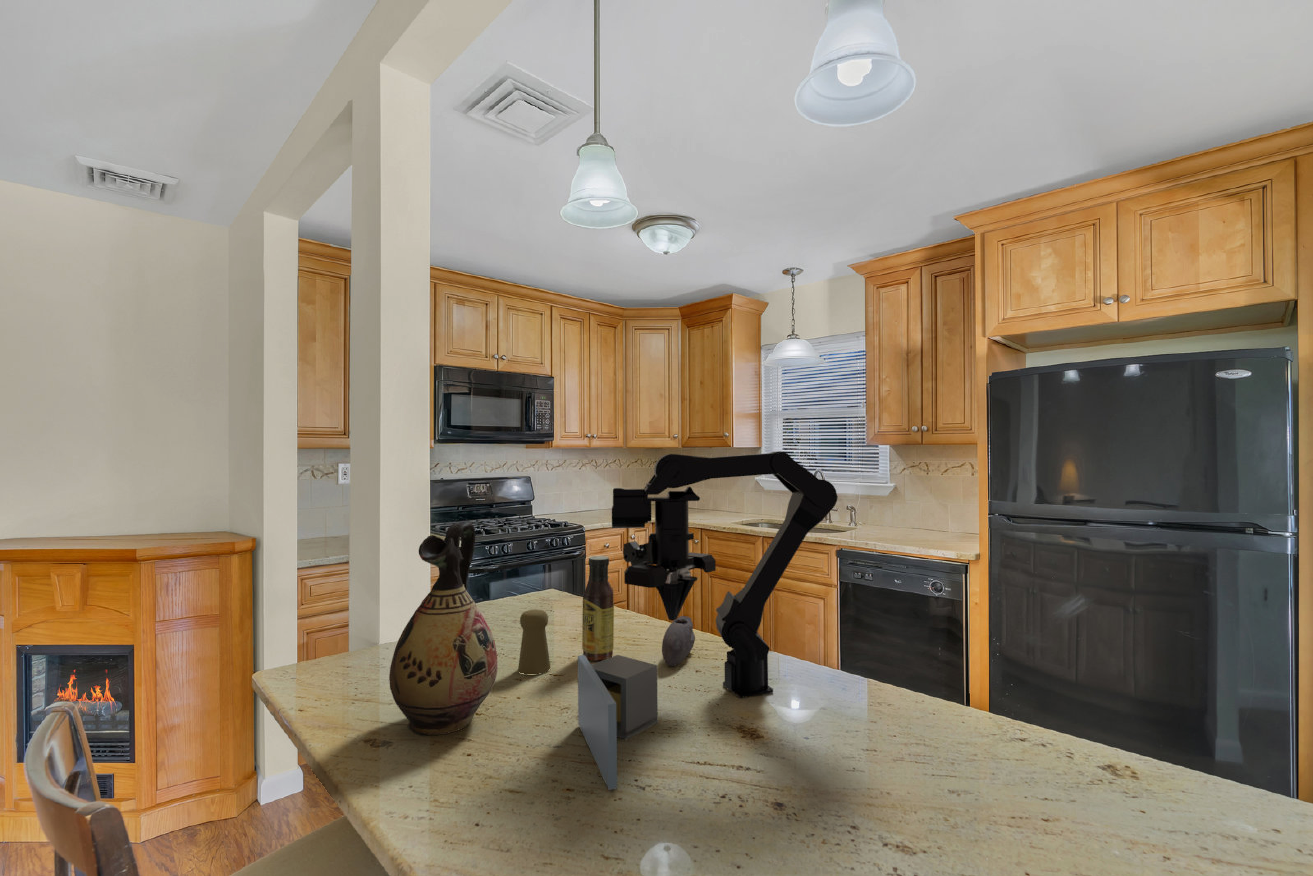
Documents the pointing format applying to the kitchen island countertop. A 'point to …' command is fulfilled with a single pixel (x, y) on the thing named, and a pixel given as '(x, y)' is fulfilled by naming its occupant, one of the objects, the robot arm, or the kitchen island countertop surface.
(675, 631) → the perforated stone tool
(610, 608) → the sauce bottle
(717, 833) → the kitchen island countertop surface
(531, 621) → the cork
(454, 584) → the ceramic jug
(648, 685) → the camera case
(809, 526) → the robot arm
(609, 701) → the side door
